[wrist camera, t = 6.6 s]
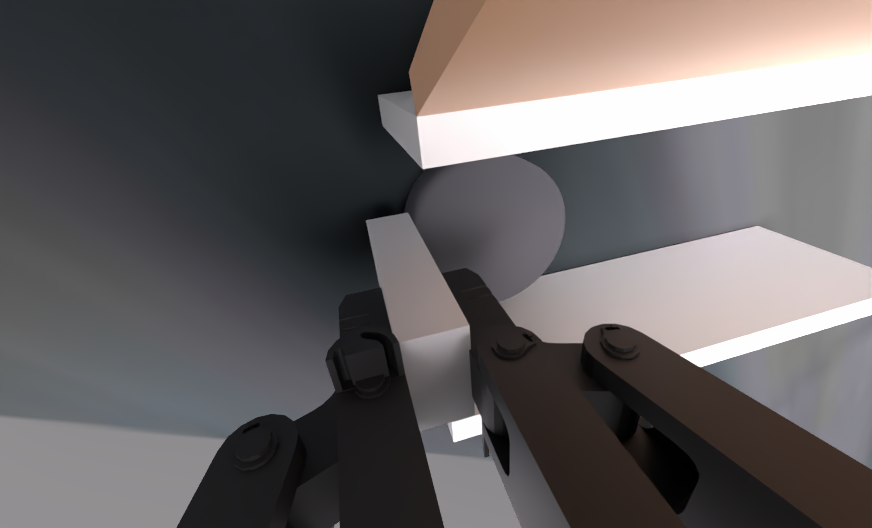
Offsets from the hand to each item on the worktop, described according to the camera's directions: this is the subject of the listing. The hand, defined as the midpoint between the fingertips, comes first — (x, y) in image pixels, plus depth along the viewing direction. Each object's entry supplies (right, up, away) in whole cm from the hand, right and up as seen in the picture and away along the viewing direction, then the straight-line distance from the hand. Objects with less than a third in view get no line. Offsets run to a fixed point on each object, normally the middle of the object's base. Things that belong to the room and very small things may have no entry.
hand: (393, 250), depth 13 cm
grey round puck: (+3, +2, +3) cm, 4 cm away
